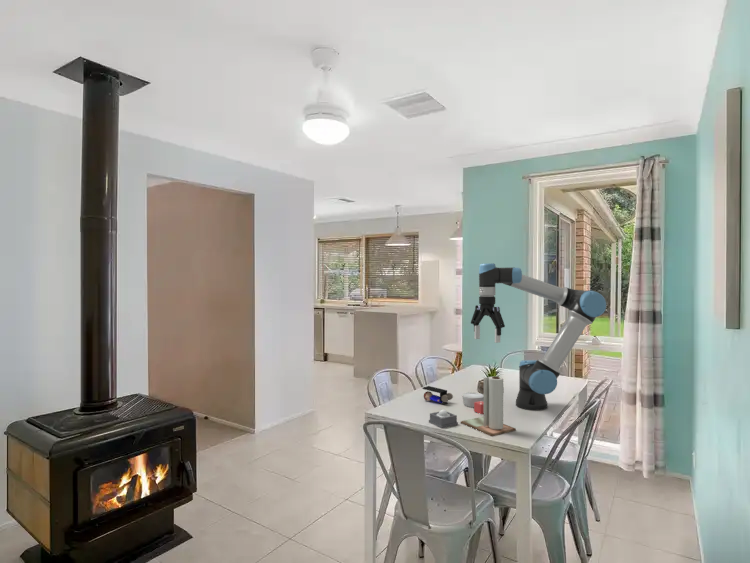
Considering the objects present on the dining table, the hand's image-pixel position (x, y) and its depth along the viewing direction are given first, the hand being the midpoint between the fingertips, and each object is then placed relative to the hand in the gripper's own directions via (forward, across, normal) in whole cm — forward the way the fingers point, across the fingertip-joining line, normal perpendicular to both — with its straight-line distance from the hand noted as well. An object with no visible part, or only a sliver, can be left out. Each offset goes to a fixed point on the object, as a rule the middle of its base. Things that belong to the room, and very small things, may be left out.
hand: (487, 340), depth 214 cm
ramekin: (+35, -14, +4) cm, 38 cm away
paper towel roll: (+34, +18, -13) cm, 41 cm away
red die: (+35, -3, -1) cm, 35 cm away
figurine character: (+35, -27, -9) cm, 45 cm away
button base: (+35, +1, -27) cm, 44 cm away
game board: (+35, +14, -13) cm, 40 cm away
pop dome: (+33, +1, -27) cm, 43 cm away
